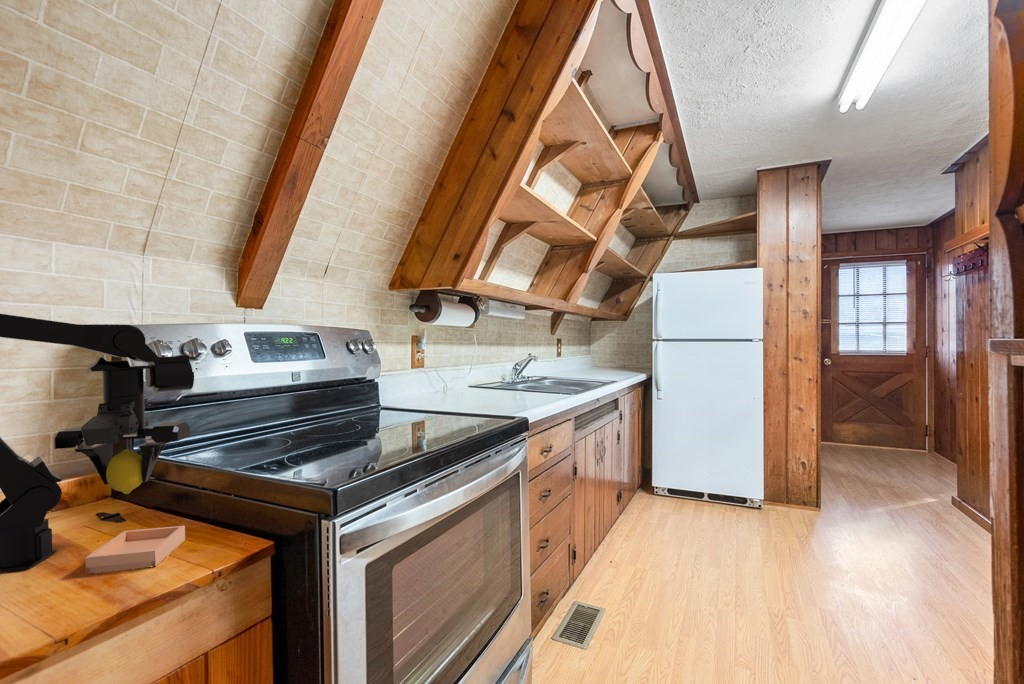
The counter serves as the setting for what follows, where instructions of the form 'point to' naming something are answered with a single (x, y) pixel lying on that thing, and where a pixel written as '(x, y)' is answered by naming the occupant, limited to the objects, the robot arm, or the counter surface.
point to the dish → (135, 549)
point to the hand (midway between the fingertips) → (126, 482)
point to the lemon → (125, 471)
